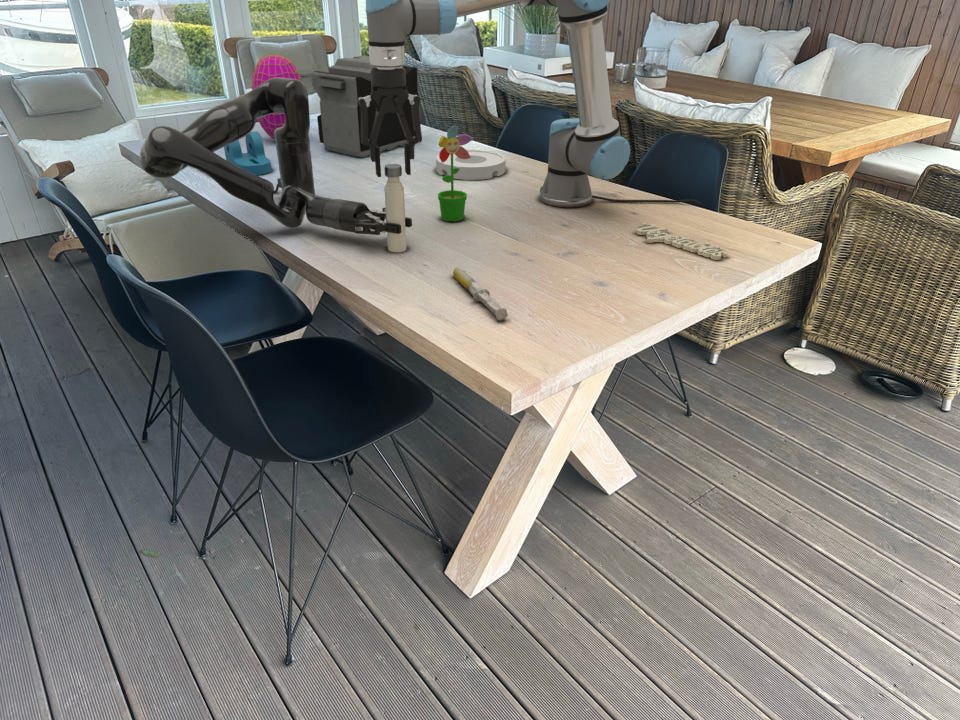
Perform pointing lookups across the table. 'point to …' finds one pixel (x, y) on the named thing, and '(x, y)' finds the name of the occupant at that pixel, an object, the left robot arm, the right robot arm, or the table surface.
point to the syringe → (479, 293)
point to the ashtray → (473, 165)
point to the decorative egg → (267, 70)
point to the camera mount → (249, 155)
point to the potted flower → (452, 199)
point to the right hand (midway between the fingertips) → (393, 174)
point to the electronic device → (357, 107)
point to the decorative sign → (680, 242)
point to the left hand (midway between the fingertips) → (405, 226)
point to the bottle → (395, 213)
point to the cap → (393, 170)
